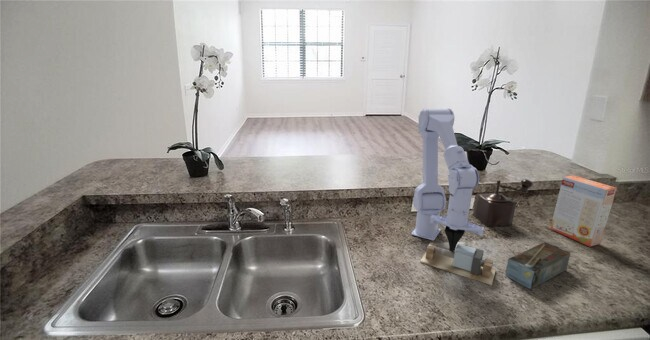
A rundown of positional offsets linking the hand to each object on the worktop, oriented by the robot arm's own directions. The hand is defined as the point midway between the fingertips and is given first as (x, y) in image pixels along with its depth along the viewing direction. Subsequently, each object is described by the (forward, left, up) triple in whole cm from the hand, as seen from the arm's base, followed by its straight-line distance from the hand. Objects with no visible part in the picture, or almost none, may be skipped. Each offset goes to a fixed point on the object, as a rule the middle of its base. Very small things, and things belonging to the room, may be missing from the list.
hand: (452, 249), depth 100 cm
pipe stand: (0, +2, -5) cm, 5 cm away
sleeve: (0, +4, -4) cm, 5 cm away
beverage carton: (-10, +22, -6) cm, 25 cm away
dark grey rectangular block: (0, +7, -5) cm, 9 cm away
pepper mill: (-42, +9, -5) cm, 43 cm away
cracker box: (-43, +33, -5) cm, 54 cm away
